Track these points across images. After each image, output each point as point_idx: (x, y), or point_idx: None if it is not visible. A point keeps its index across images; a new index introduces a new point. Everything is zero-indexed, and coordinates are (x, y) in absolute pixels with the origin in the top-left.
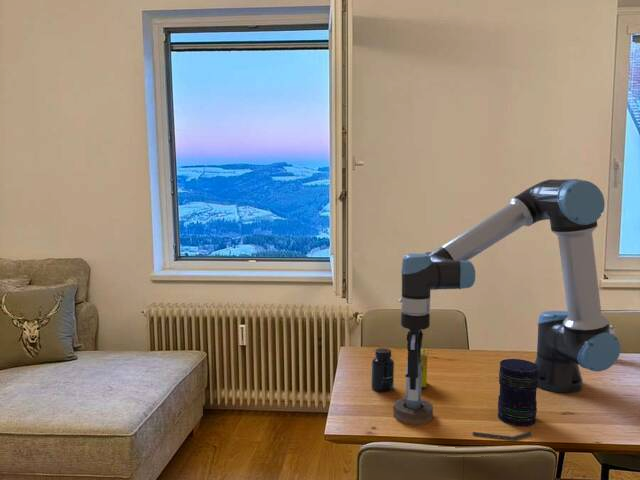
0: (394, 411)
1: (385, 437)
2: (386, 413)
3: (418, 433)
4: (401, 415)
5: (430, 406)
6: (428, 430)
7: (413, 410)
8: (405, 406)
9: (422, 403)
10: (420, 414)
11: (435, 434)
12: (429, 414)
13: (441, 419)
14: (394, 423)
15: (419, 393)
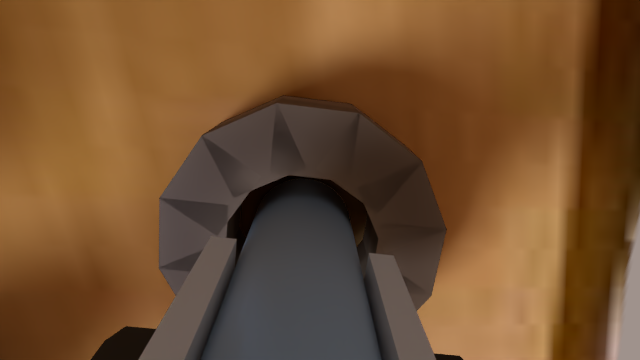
0: None
1: (568, 350)
2: None
3: (526, 193)
4: None
5: (297, 125)
6: (487, 134)
7: (386, 250)
8: None
9: (251, 184)
10: (435, 202)
11: (539, 94)
12: (385, 132)
13: (323, 37)
14: None
15: (346, 266)
